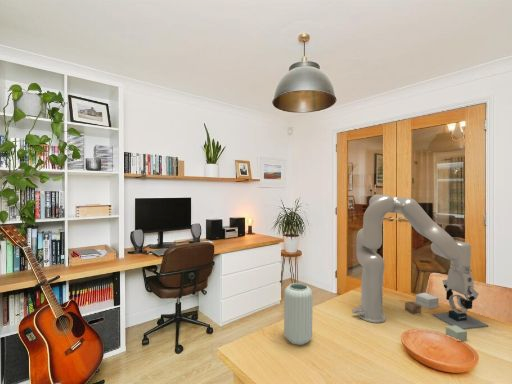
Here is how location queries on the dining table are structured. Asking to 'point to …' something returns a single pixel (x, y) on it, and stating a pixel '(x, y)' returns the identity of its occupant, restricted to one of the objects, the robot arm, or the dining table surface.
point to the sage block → (456, 332)
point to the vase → (298, 313)
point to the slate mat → (464, 324)
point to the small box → (427, 300)
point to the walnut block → (413, 307)
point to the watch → (456, 313)
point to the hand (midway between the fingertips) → (458, 303)
